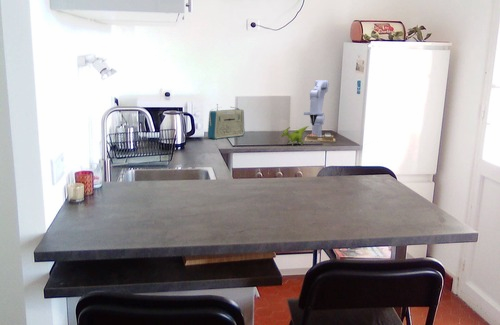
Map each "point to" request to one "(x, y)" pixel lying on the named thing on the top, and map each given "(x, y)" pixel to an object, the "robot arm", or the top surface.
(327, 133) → the grey plug
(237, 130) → the radio
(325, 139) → the socket panel
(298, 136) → the toy
